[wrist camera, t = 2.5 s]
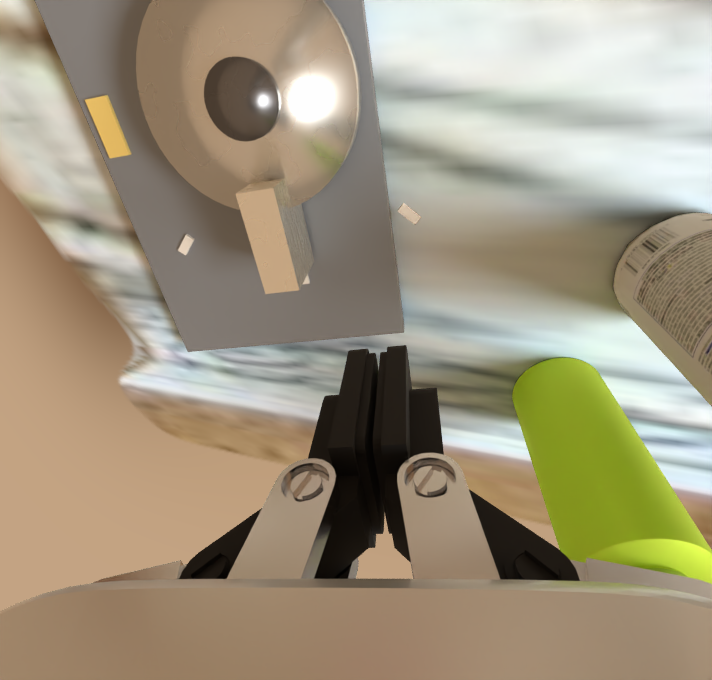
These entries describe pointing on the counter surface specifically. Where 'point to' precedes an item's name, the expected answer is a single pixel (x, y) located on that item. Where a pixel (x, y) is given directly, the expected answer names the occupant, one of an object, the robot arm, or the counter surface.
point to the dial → (253, 112)
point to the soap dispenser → (602, 475)
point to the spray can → (673, 292)
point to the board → (225, 224)
